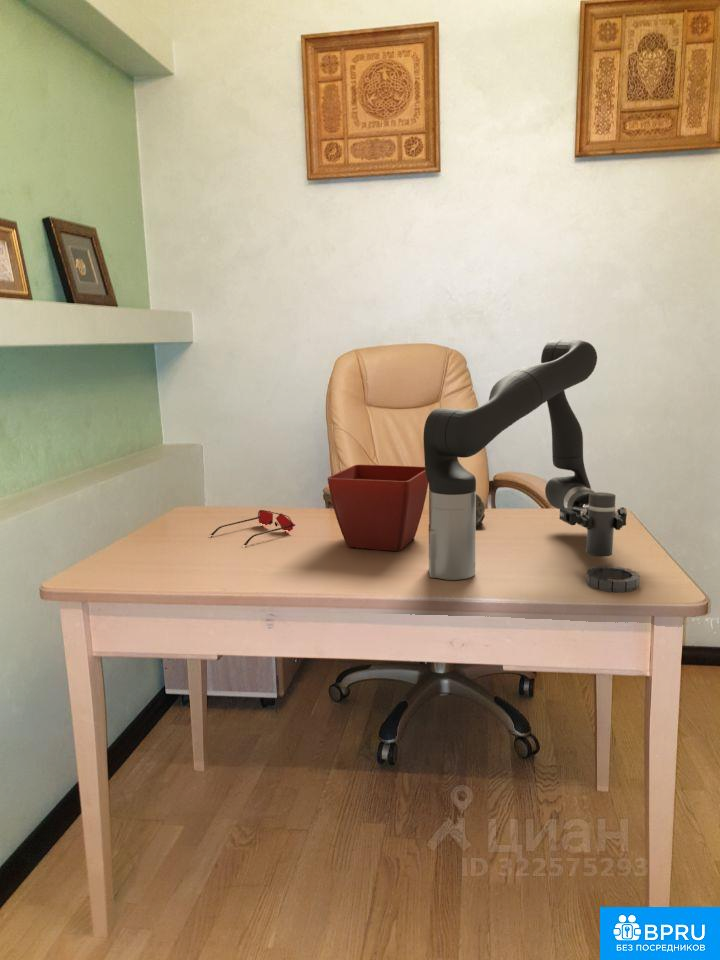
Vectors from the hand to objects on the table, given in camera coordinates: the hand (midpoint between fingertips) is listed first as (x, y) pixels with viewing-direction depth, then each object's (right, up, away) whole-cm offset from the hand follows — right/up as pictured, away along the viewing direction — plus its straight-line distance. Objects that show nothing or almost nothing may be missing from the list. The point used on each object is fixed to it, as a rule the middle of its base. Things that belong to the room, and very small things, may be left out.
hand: (604, 524), depth 148 cm
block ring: (0, -11, -4) cm, 12 cm away
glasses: (-74, -5, +36) cm, 83 cm away
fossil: (-22, -3, +42) cm, 47 cm away
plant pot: (-43, -6, +28) cm, 52 cm away
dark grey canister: (0, -6, +4) cm, 7 cm away
